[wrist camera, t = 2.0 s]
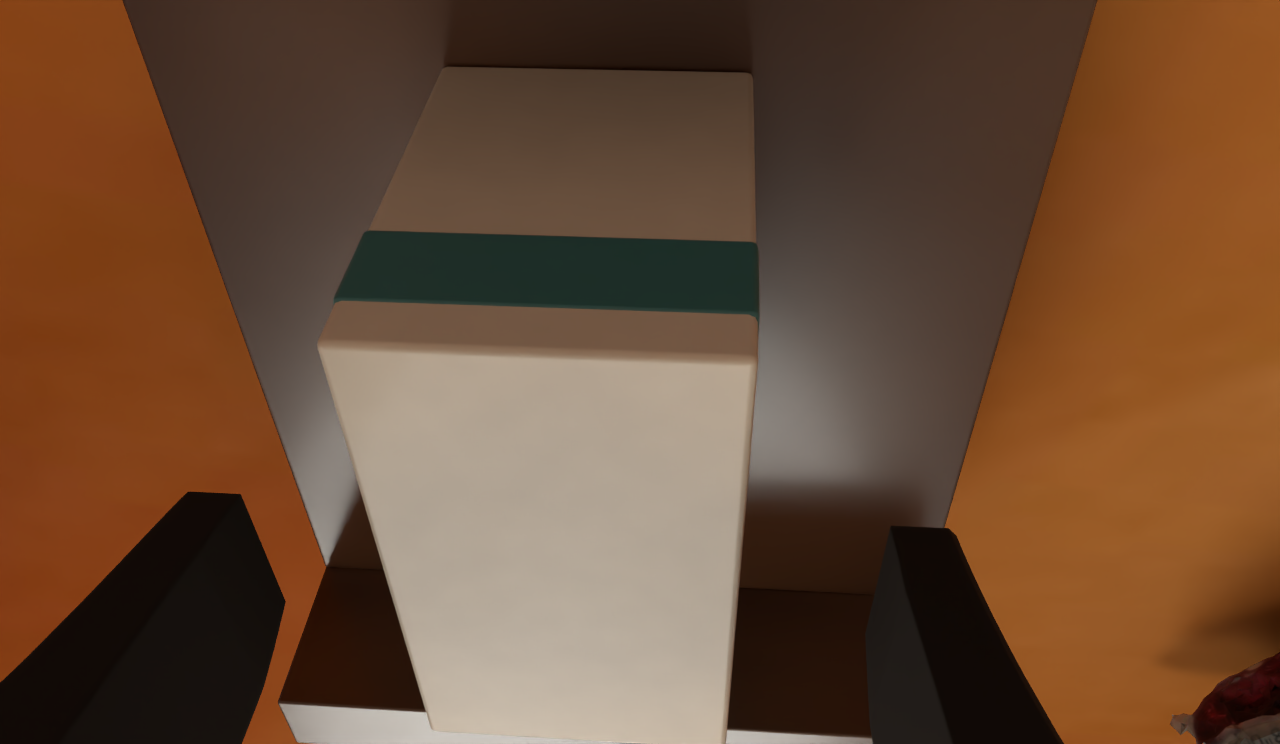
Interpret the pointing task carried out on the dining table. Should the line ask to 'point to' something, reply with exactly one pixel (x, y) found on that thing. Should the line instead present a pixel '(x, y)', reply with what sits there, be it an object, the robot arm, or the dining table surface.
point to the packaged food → (1239, 708)
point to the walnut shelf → (788, 279)
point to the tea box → (561, 397)
